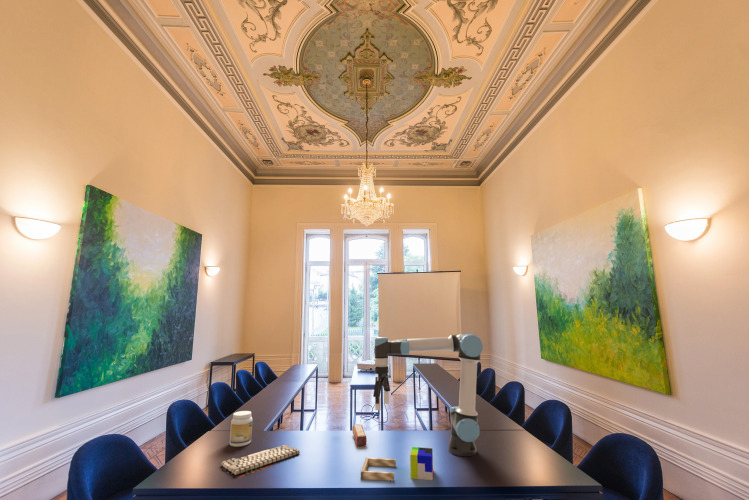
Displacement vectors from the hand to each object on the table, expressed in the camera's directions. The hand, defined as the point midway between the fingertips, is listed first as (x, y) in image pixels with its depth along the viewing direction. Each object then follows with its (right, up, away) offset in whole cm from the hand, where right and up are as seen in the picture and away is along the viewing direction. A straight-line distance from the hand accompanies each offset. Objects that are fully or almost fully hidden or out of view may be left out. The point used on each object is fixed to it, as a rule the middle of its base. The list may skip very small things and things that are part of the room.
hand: (382, 406), depth 181 cm
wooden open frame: (-1, -22, -20) cm, 30 cm away
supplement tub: (-84, -30, +18) cm, 91 cm away
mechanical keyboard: (-63, -26, -7) cm, 69 cm away
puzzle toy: (+19, -22, -22) cm, 36 cm away
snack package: (-13, -31, +22) cm, 41 cm away
